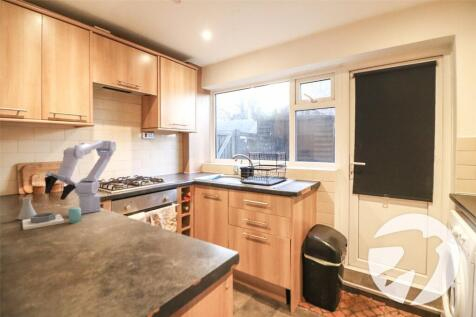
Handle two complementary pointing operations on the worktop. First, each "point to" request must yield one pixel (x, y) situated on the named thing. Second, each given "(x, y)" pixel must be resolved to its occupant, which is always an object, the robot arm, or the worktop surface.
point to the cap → (74, 215)
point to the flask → (26, 209)
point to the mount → (42, 220)
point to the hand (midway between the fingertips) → (54, 196)
